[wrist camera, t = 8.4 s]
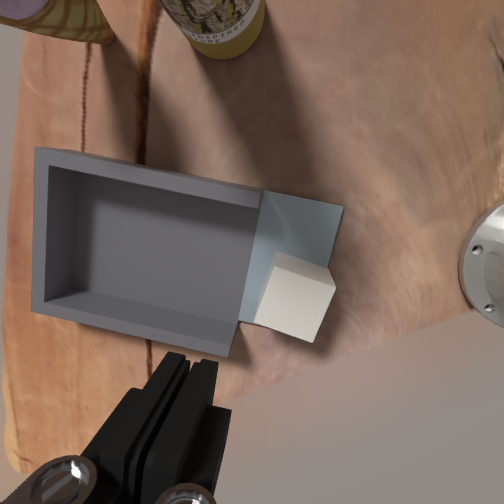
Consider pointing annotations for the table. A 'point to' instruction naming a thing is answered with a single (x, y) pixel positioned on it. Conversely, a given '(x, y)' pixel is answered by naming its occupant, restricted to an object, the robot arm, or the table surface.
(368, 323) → the table surface
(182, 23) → the paper tube
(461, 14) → the table surface
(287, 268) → the cream block
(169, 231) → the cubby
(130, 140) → the table surface
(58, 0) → the ice cream cone
